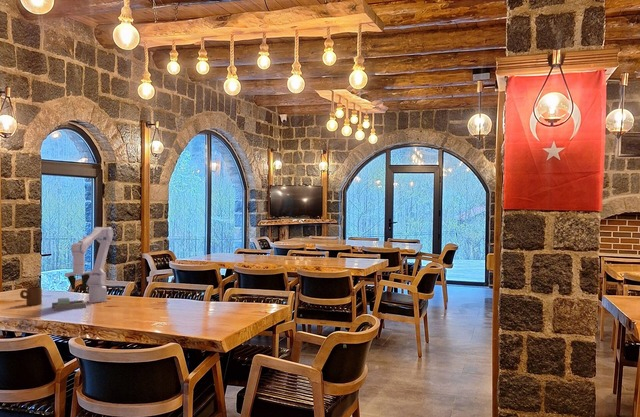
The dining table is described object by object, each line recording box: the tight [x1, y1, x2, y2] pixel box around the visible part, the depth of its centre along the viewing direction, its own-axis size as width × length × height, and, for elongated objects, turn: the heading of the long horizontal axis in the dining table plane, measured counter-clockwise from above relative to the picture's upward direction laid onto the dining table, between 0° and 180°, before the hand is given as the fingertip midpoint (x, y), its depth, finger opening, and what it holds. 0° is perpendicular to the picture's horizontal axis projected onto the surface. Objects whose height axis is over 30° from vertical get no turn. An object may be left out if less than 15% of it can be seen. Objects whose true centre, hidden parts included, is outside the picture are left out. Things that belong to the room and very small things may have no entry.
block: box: [57, 297, 70, 305], centre depth 293 cm, size 5×5×5 cm
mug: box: [19, 286, 43, 306], centre depth 299 cm, size 12×8×9 cm, turn 153°
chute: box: [51, 299, 87, 311], centre depth 294 cm, size 16×10×2 cm, turn 125°
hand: (78, 288), depth 297 cm, fingers open, 5 cm apart
